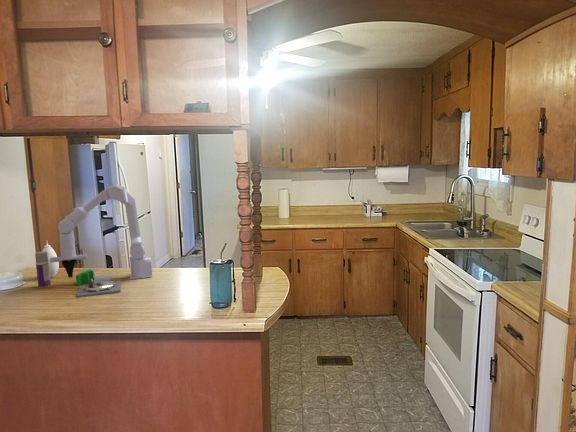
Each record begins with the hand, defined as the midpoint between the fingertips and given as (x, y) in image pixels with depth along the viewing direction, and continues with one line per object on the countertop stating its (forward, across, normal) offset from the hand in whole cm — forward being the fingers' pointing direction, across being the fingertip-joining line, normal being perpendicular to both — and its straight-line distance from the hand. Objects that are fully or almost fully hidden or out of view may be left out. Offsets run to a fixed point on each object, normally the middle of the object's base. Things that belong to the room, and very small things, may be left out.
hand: (70, 276), depth 180 cm
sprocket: (+3, -12, +14) cm, 19 cm away
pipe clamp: (+3, -6, 0) cm, 7 cm away
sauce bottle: (+3, +10, -16) cm, 20 cm away
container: (+3, +10, -2) cm, 11 cm away
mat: (+3, -13, 0) cm, 13 cm away
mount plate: (+3, -12, +14) cm, 19 cm away
